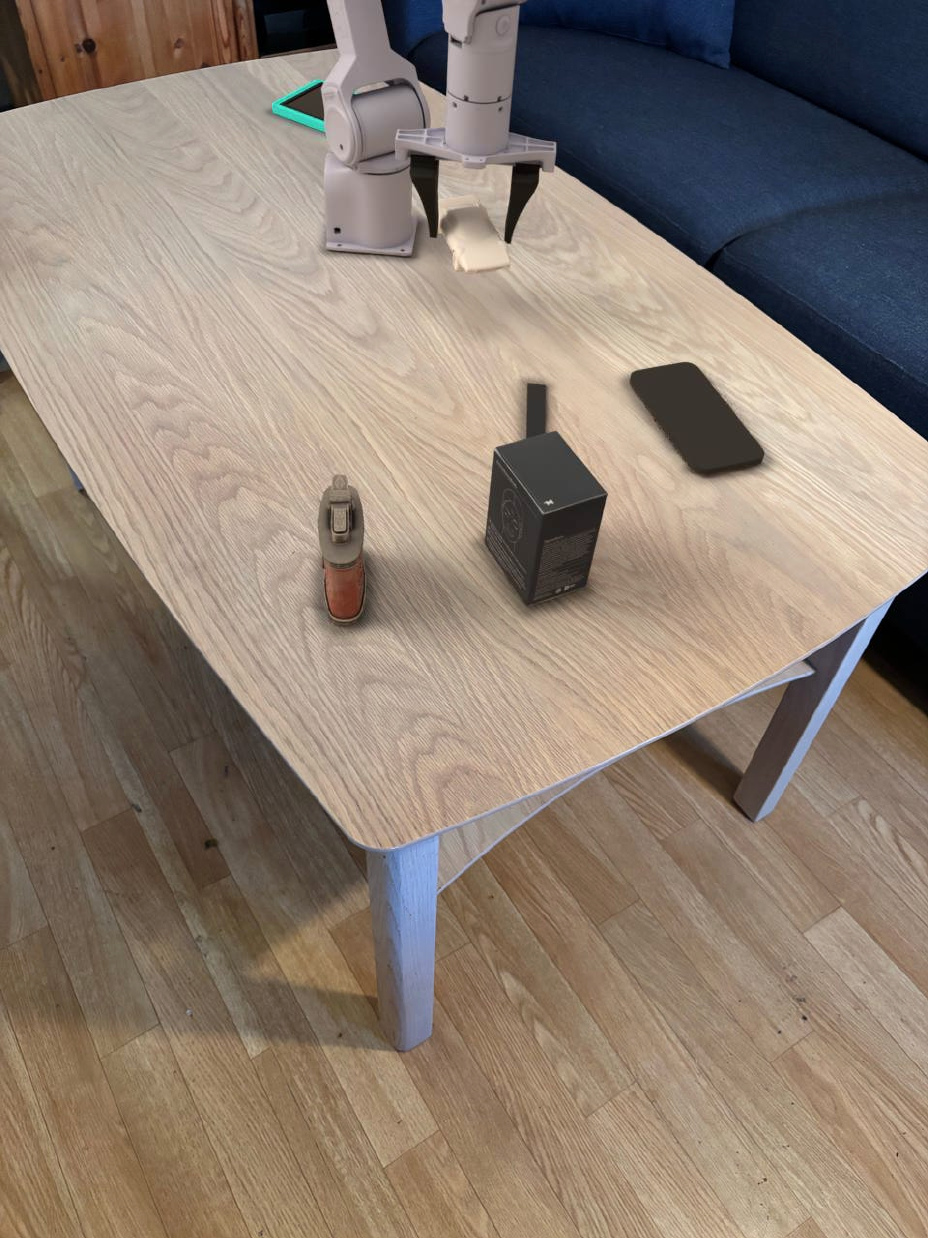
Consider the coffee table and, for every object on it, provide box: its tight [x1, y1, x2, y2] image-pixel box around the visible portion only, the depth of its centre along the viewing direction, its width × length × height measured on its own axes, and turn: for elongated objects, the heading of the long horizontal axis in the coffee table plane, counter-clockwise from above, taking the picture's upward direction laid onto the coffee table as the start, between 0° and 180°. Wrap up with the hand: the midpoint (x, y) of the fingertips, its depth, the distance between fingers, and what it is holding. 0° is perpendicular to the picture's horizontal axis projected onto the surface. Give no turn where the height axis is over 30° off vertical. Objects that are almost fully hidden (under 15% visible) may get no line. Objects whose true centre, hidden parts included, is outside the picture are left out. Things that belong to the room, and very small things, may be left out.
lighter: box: [317, 473, 368, 629], centre depth 73 cm, size 8×3×10 cm, turn 5°
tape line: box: [525, 382, 547, 439], centre depth 89 cm, size 2×15×1 cm, turn 177°
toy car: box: [437, 194, 512, 275], centre depth 94 cm, size 6×12×3 cm, turn 17°
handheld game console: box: [271, 78, 359, 133], centre depth 126 cm, size 10×16×1 cm, turn 57°
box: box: [484, 430, 609, 607], centre depth 75 cm, size 8×6×11 cm
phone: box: [629, 361, 766, 476], centre depth 91 cm, size 7×1×15 cm
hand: (470, 235), depth 94 cm, fingers closed on toy car, 6 cm apart
